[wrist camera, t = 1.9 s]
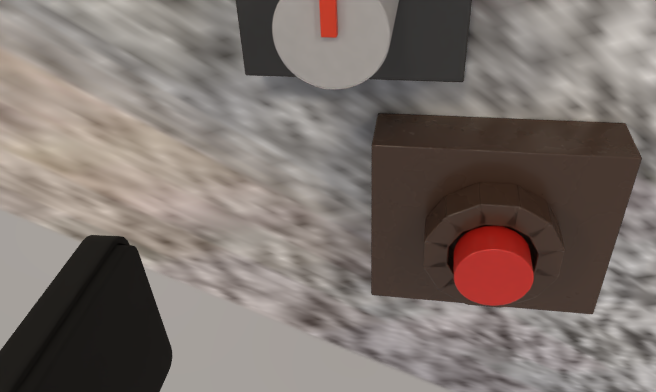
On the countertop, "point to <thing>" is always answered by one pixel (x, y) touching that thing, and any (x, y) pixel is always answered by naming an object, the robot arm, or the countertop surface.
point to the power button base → (498, 201)
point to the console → (405, 47)
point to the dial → (333, 39)
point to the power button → (492, 266)
